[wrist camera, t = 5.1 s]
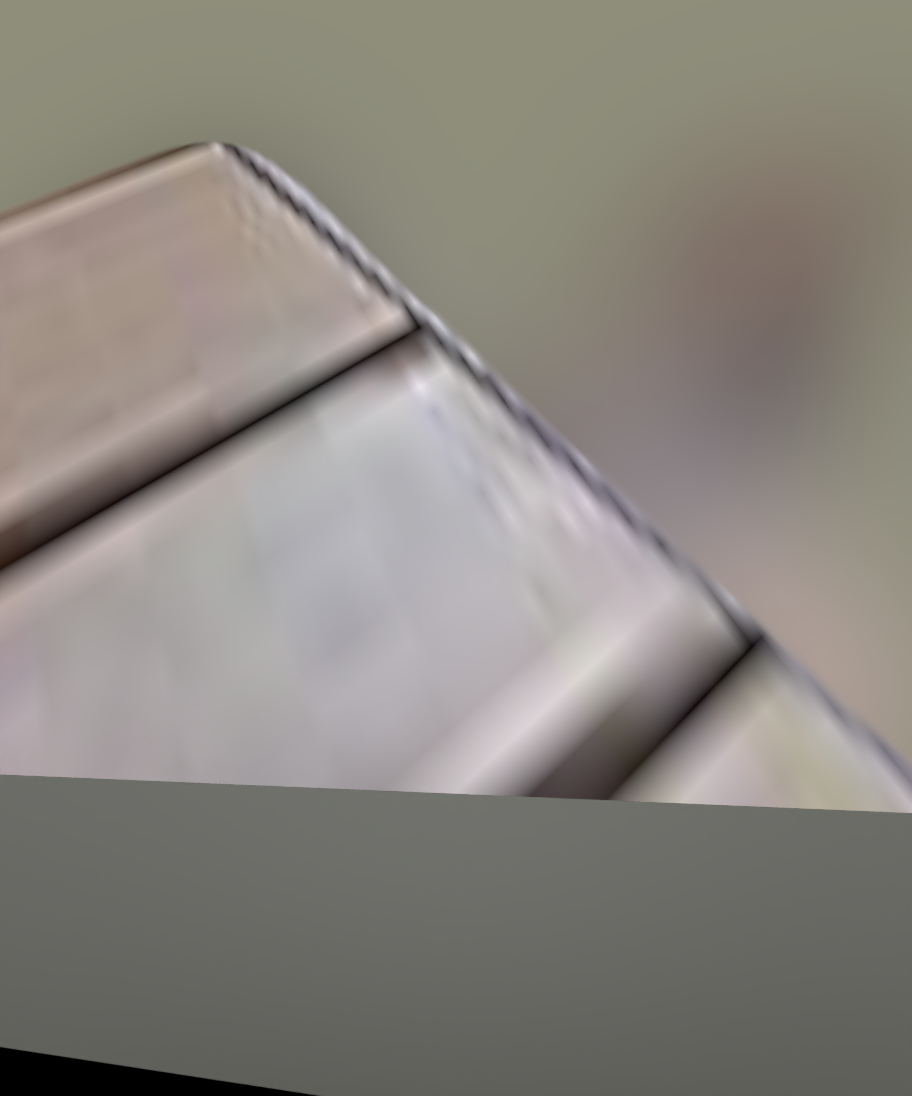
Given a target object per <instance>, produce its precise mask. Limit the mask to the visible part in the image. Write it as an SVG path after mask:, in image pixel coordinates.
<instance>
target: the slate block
mask: <svg viewBox="0 0 912 1096" xmlns="http://www.w3.org/2000/svg"><path fill="white" fill-rule="evenodd" d="M0 1096H912V813H893V812H869V811H846V810H822V809H799V808H775V807H751V806H728V805H704V804H681V803H657V802H634V801H610V800H586V799H563V798H539V797H516V796H492V795H469V794H445V793H421V792H398V791H374V790H351V789H327V788H303V787H280V786H256V785H233V784H209V783H185V782H162V781H138V780H115V779H91V778H68V777H44V776H20V775H0Z"/></svg>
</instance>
